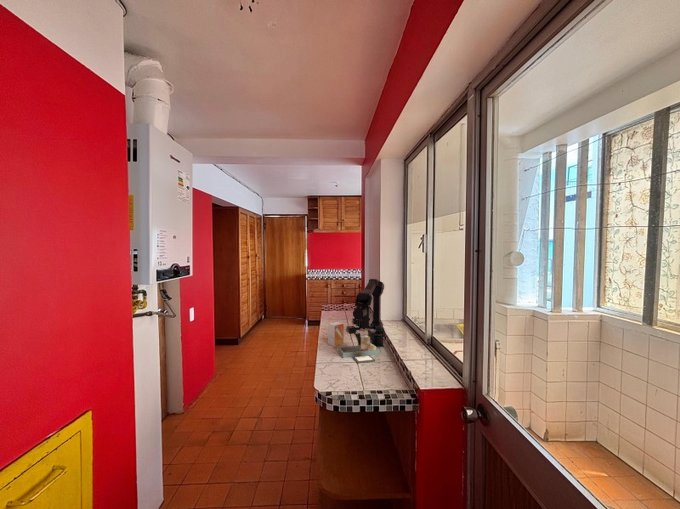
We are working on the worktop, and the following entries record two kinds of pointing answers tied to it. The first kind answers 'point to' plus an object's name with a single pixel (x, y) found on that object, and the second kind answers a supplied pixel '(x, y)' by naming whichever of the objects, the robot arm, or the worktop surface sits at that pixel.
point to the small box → (335, 333)
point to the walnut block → (364, 342)
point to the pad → (363, 359)
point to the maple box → (370, 347)
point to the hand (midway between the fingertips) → (363, 344)
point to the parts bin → (357, 353)
